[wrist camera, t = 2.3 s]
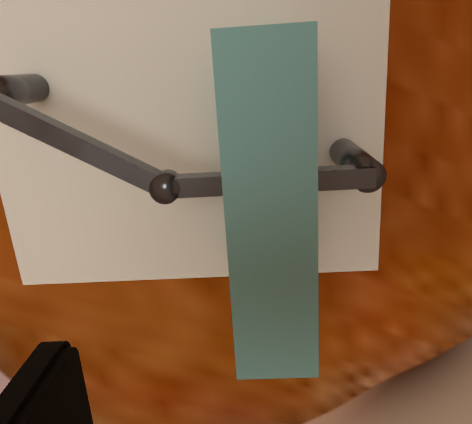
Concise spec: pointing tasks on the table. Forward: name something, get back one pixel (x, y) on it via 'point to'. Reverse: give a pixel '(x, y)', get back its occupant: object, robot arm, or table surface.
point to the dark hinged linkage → (146, 176)
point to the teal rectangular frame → (270, 193)
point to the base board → (170, 132)
